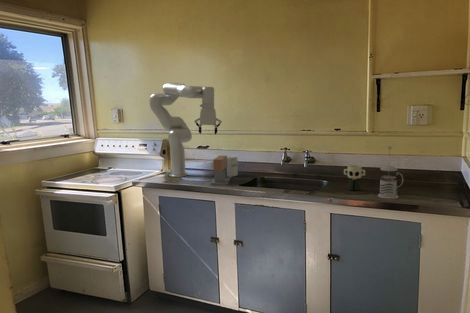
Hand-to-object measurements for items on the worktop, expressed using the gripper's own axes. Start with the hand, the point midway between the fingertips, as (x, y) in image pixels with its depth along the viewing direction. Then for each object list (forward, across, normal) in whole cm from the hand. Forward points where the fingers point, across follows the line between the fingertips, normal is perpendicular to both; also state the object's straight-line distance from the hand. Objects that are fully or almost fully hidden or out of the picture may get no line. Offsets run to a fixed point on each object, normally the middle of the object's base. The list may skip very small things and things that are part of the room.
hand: (207, 133), depth 241 cm
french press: (+24, +99, -49) cm, 113 cm away
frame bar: (+21, +10, -9) cm, 24 cm away
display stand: (+29, +10, -9) cm, 32 cm away
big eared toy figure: (+25, +85, -34) cm, 95 cm away
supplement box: (+29, +14, +10) cm, 34 cm away
